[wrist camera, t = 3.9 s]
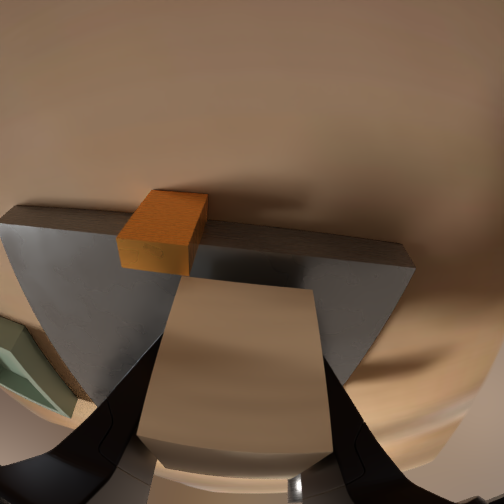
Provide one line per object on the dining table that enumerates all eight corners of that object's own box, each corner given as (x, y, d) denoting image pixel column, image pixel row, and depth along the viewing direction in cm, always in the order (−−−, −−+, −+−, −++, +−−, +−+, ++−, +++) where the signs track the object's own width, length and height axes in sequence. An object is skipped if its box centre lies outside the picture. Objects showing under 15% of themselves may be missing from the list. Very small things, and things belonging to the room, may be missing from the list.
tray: (77, 398, 23) (70, 418, 21) (3, 366, 22) (-5, 382, 20) (24, 325, 16) (10, 351, 14) (-48, 294, 15) (-60, 312, 13)
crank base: (294, 428, 22) (295, 458, 20) (109, 402, 22) (101, 429, 19) (410, 222, 10) (446, 273, 7) (9, 186, 9) (-33, 221, 7)
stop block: (287, 360, 11) (290, 479, 7) (188, 350, 11) (165, 468, 7) (312, 289, 9) (332, 451, 5) (181, 275, 9) (136, 434, 5)
